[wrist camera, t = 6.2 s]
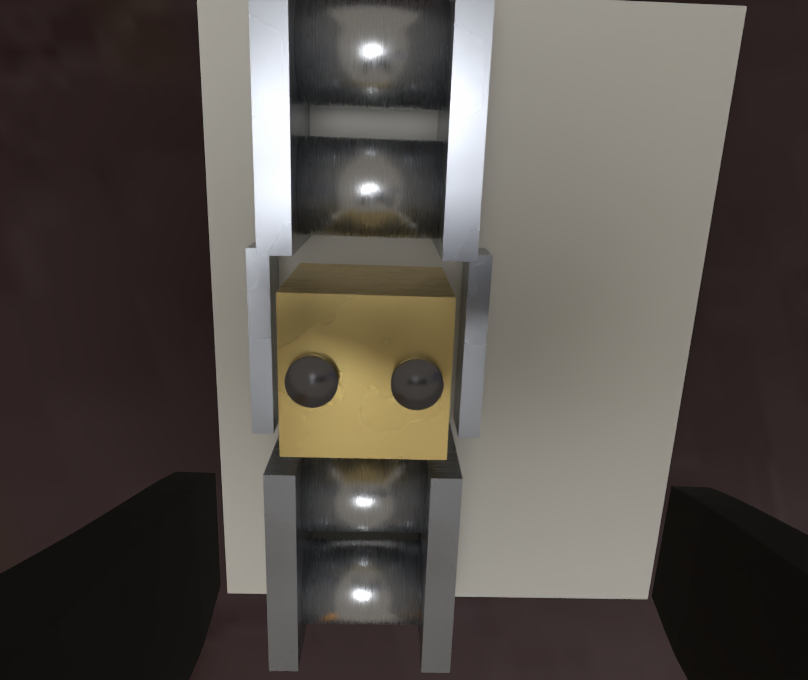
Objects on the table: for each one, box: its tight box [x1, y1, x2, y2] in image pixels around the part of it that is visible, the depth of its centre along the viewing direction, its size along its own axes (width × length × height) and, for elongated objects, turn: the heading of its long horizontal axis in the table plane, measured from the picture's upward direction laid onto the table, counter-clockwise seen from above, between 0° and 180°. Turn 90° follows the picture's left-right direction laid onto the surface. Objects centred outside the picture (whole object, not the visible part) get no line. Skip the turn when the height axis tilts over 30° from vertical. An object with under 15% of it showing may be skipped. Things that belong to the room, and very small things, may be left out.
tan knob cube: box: [276, 263, 456, 460], centre depth 16 cm, size 4×4×4 cm
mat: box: [197, 0, 747, 599], centre depth 19 cm, size 14×18×1 cm
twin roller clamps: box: [246, 0, 495, 673], centre depth 17 cm, size 6×18×4 cm, turn 178°
